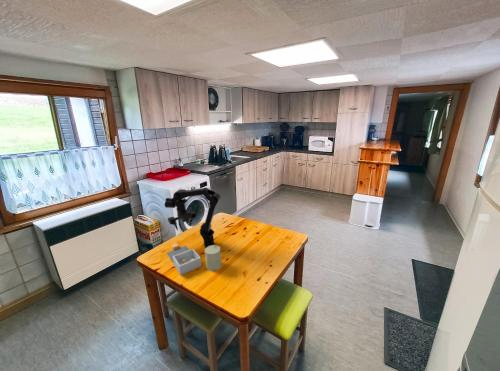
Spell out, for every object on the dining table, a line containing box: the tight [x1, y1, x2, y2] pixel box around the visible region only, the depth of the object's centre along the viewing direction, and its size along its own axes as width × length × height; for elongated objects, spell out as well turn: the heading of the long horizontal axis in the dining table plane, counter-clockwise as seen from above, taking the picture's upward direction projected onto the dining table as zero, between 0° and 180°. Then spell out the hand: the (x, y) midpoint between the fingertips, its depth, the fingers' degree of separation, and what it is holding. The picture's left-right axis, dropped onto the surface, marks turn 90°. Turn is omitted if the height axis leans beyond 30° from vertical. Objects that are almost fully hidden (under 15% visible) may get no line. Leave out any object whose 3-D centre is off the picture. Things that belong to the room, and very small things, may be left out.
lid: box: [166, 242, 190, 264], centre depth 146 cm, size 13×17×3 cm
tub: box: [172, 248, 202, 276], centre depth 133 cm, size 13×12×6 cm
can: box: [204, 244, 223, 272], centre depth 131 cm, size 9×9×12 cm
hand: (183, 228), depth 154 cm, fingers open, 9 cm apart
